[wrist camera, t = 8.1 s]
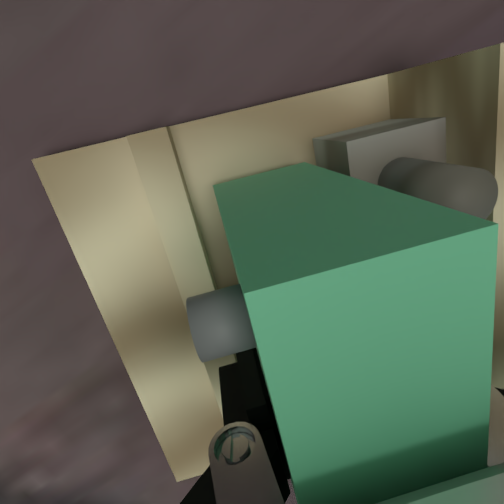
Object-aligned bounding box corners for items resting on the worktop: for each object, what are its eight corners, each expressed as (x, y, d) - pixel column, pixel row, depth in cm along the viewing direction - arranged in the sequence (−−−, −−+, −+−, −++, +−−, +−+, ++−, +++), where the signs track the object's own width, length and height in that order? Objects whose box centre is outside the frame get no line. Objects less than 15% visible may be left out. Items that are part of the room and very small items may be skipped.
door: (346, 420, 16) (477, 675, 9) (259, 446, 16) (316, 733, 8) (304, 162, 12) (497, 223, 4) (183, 192, 11) (158, 317, 4)
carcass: (424, 385, 19) (541, 518, 13) (178, 460, 18) (168, 645, 12) (409, 69, 13) (616, 14, 7) (46, 156, 12) (-120, 190, 6)
